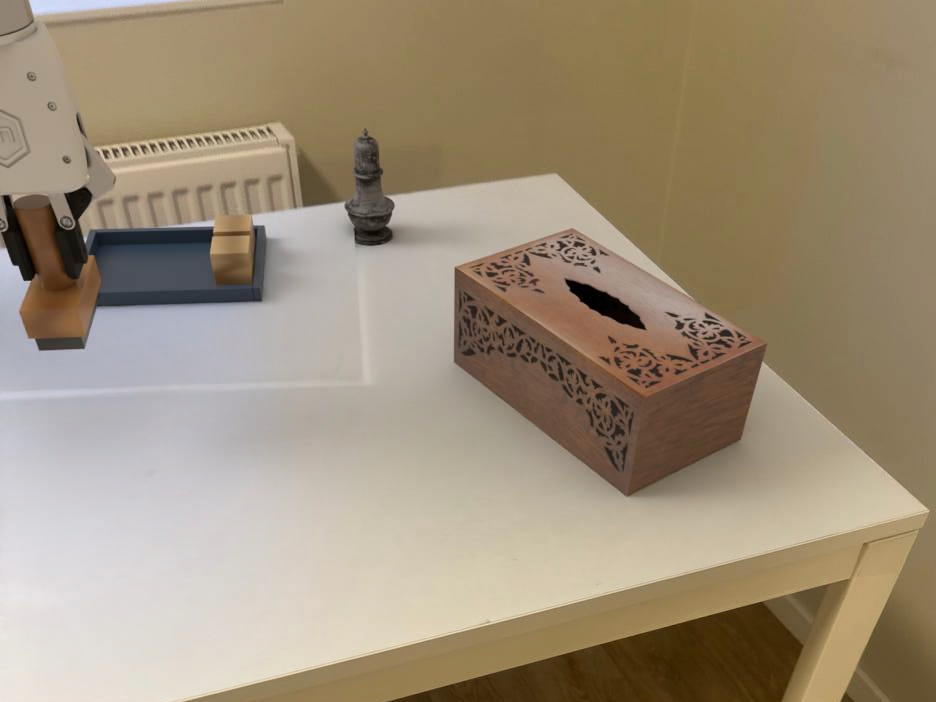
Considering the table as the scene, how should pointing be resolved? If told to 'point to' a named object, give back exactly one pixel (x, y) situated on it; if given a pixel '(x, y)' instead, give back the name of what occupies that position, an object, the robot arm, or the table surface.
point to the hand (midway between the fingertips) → (54, 270)
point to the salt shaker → (369, 195)
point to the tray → (166, 267)
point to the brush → (54, 283)
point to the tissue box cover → (604, 356)
